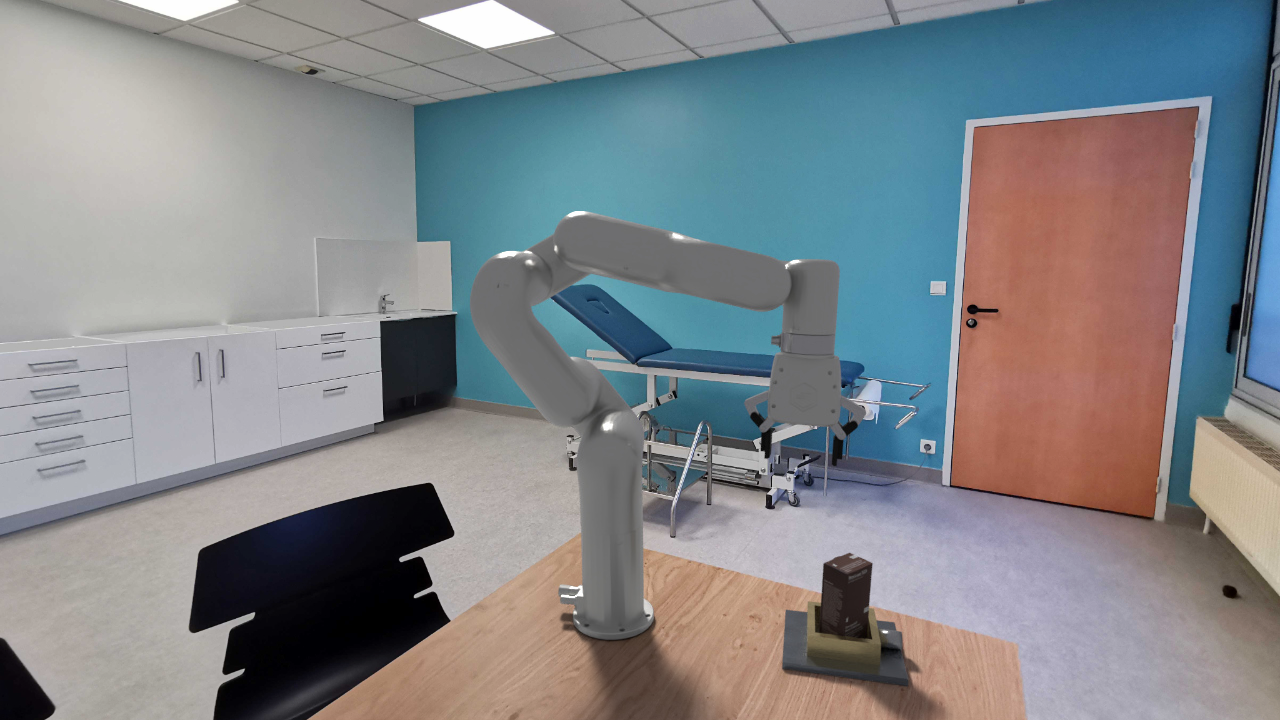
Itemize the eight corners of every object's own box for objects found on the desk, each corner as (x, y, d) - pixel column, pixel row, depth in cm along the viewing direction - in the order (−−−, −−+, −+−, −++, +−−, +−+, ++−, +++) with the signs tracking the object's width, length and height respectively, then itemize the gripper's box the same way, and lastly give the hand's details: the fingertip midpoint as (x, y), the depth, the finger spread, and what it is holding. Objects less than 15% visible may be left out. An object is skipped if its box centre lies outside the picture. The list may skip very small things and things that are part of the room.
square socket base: (782, 668, 89) (782, 641, 88) (785, 615, 102) (786, 591, 102) (907, 686, 85) (909, 657, 84) (894, 628, 98) (895, 603, 98)
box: (844, 656, 90) (847, 573, 88) (817, 641, 93) (820, 561, 92) (870, 641, 93) (874, 561, 92) (844, 627, 97) (847, 550, 95)
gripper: (744, 344, 93) (738, 460, 96) (872, 352, 88) (862, 474, 91) (750, 339, 100) (745, 447, 103) (869, 346, 95) (861, 459, 98)
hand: (800, 459), depth 97 cm, fingers open, 9 cm apart
